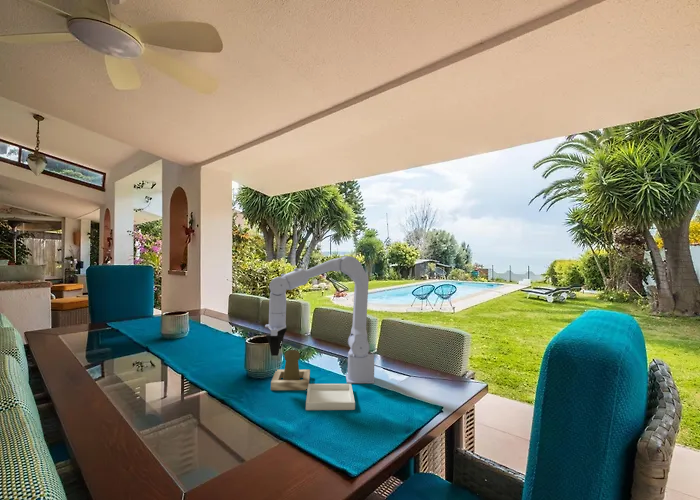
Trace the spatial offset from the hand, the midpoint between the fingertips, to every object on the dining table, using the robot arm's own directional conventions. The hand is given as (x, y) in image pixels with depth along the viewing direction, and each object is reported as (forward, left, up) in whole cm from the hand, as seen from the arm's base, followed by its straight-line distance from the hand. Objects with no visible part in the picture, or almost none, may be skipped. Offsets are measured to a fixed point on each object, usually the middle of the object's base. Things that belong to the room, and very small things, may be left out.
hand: (276, 351), depth 115 cm
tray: (-18, +14, -10) cm, 25 cm away
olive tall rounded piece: (-5, +1, -11) cm, 12 cm away
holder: (-5, +1, -10) cm, 12 cm away
